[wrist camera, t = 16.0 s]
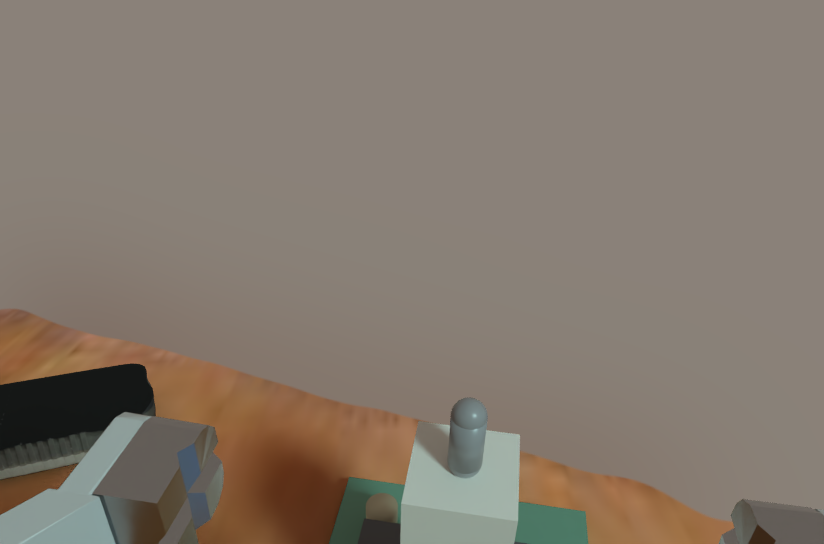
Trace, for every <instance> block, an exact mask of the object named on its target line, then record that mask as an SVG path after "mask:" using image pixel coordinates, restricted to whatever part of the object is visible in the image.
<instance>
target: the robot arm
mask: <svg viewBox="0 0 824 544" xmlns="http://www.w3.org/2000/svg"><path fill="white" fill-rule="evenodd" d="M217 443H218V440H217V435H216V431H215V427H212V426H209V425H203V424H197V423H191V422H185V421H179V420H173V419H167V418H161V417H155V416H147V415H141V414H134V413H128V412H124V413H122V414H120V415H119V416H117V417H115V418H114V419H113V421H112V422H111V423H110V424H109V426H108V427H107V428H106V429H105V431H104V432H103V433H102V435H101V436H100V437H99V438H98V440H97V441H96V442H95V443H94V445H93V446H92V447H91V448H90V450H89V451H88V452H87V453H86V455H85V456H84V457H83V458H82V460H81V461H80V462H79V463H78V465H77V466H76V467H75V469H74V470H73V471H72V472H71V474H70V475H69V476H68V477H67V479H66V480H65V481H64V482H63V484H62V485H61V486H60V487H59V489H58V490H57V489H47V490H45V491H44V492H42V493H40V494H38V495H36V496H34V497H33V498H31V499H29V500H27V501H25V502H23V503H22V504H20V505H18V506H16V507H14V508H13V509H11V510H9V511H7V512H5V513H3V514H2V515H0V544H198V539H197V535H196V529H197V528H199V527H200V526H202V525H203V524H204V523H206V522H207V521H209V520H210V519H211V518H212V515H213V513H214V511H215V509H216V507H217V505H218V503H219V499H220V495H221V491H222V488H223V475H224V471H223V466H222V461H221V460H220V459H219V458H218V457H217V456H216V455H215V454H214V453H213V450H214V449H215V447H216V445H217ZM731 518H732V521H733V524H734V527H735V528H734V529H732V530H730V531H728V532H726V533H724V534H723V535H722V536H721V539H720V542H719V544H824V510H820V509H812V508H808V507H800V506H792V505H784V504H777V503H769V502H761V501H752V500H746V499H742V500H741V501H739V502H738V503H737V504H736V505H735V507H734V509H733V511H732V514H731Z"/></svg>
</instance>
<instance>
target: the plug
mask: <svg viewBox="0 0 824 544" xmlns="http://www.w3.org/2000/svg"><path fill="white" fill-rule="evenodd" d="M487 417H488V416H487V411H486V408H485V406H484V405H483V404H482V403H481V402H480V401H479V400H477V399H475V398H463V399H461V400H459V401H458V402H457V403H456V404H455V405H454V406H453V408H452V411H451V420H450V425H444V424H436V423H429V422H422V421H419V422H418V427H417V431H416V436H415V441H414V445H413V450H412V455H411V460H410V464H409V469H408V474H407V478H406V483H405V488H404V493H403V497H402V502H401V533H400V544H514V542H515V536H516V530H517V525H518V500H519V453H520V435H518V434H511V433H503V432H495V431H488V430H486V427H487V419H488V418H487Z"/></svg>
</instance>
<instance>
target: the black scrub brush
mask: <svg viewBox="0 0 824 544" xmlns="http://www.w3.org/2000/svg"><path fill="white" fill-rule="evenodd" d="M124 412H128V413H134V414H141V415H147V416H156V414H155V403H154V394H153V389H152V387H151V385H150V383H149V381H148V379H147V372H146V368H145V367H144V366H143V365H140V364H124V365H118V366H112V367H105V368H99V369H92V370H87V371H81V372H74V373H69V374H63V375H57V376H51V377H45V378H39V379H33V380H27V381H21V382H15V383H9V384H3V385H0V480H2V479H6V478H11V477H16V476H21V475H26V474H30V473H35V472H40V471H44V470H49V469H53V468H59V467H63V466H69V465H72V464H77V463H79V462H80V461H81V460H82V458H83V457H84V456H85V455H86V453H87V452H88V451H89V450H90V448H91V447H92V446H93V445H94V443H95V442H96V441H97V440H98V438H99V437H100V436H101V435H102V433H103V432H104V431H105V429H106V428H107V427H108V426H109V424H110V423H111V422H112V421H113V419H114V418H115V417H117V416H119V415H120V414H122V413H124Z"/></svg>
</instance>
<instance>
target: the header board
mask: <svg viewBox="0 0 824 544" xmlns="http://www.w3.org/2000/svg"><path fill="white" fill-rule="evenodd" d="M404 488H405V485H400V484H394V483H387V482H380V481H373V480H366V479H359V478H353V477H349V480H348V483H347V486H346V490H345V493H344V496H343V499H342V503H341V506H340V509H339V512H338V516H337V519H336V522H335V525H334V529H333V532H332V535H331V538H330V542H329V544H400V533H401V502H402V497H403V493H404ZM514 544H588V536H587V525H586V514H585V511H578V510H571V509H564V508H557V507H551V506H544V505H537V504H530V503H523V502H518V525H517V530H516V536H515V542H514Z"/></svg>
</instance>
